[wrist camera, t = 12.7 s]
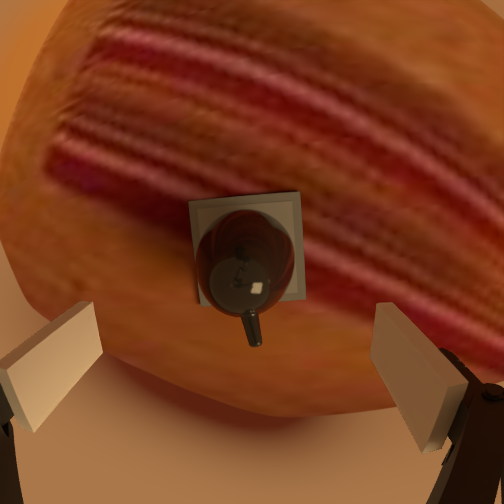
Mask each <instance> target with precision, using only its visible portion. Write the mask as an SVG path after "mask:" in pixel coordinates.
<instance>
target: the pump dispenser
mask: <svg viewBox="0 0 504 504" xmlns="http://www.w3.org/2000/svg"><path fill="white" fill-rule="evenodd" d="M195 266H196V275H197V279H198V283H199V286H200V289H201V291H202V293H203V295H204V296H205V298H206V299H207V301H208V302H209V303H210V304H211V305H212V306H213V307H214V308H216V309H217V310H218V311H220V312H222V313H224V314H226V315H229V316H233V317H241V319H242V323H243V326H244V329H245V332H246V336H247V339H248V342H249V345H250V346H251V347H258V346H260V345H261V344H262V336H261V330H260V323H259V316H258V314H261V313H263V312H265V311H267V310H269V309H270V308H271V307H273V306H274V305H275V304H276V303H277V302H278V301H279V300H280V299H281V298H282V296H283V295H284V294H285V292H286V290H287V289H288V287H289V285H290V282H291V280H292V277H293V273H294V268H295V250H294V245H293V242H292V239H291V237H290V235H289V233H288V232H287V230H286V229H285V227H284V226H283V225H282V224H281V223H280V222H279V221H278V220H277V219H275V218H274V217H272V216H271V215H269V214H267V213H265V212H262V211H259V210H254V209H238V210H234V211H230V212H228V213H225V214H223V215H221V216H220V217H218V218H217V219H216V220H214V221H213V222H212V223H211V224H210V225H209V226H208V228H207V229H206V230H205V232H204V233H203V235H202V237H201V239H200V242H199V244H198V248H197V252H196V261H195Z"/></svg>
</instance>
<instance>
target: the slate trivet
mask: <svg viewBox="0 0 504 504" xmlns="http://www.w3.org/2000/svg"><path fill="white" fill-rule="evenodd" d="M188 203H189V213H190V223H191V232H192V241H193V249H194V257H195V261H196V252H197V248H198V244H199V242H200V239H201V237H202V235H203V233H204V232H205V230H206V229H207V228H208V226H209V225H210V224H211V223H212V222H213V221H214V220H216V219H217V218H218V217H220V216H221V215H223V214H225V213H228V212H230V211H234V210H238V209H254V210H259V211H262V212H265V213H267V214H269V215H271V216H272V217H274V218H275V219H277V220H278V221H279V222H280V223H281V224H282V225H283V226H284V227H285V229H286V230H287V232H288V233H289V235H290V237H291V239H292V242H293V245H294V250H295V268H294V273H293V277H292V280H291V282H290V285H289V287H288V289H287V290H286V292H285V294H284V295H283V296H282V298H281V299H280V300H279V301H292V300H303V299H306V288H305V266H304V247H303V230H302V214H301V200H300V192H286V193H272V194H260V195H248V196H236V197H226V198H215V199H205V200H196V201H188ZM197 281H198V279H197ZM198 288H199V296H200V303H201V307H202V306H212V305H211V304H210V303H209V302H208V301H207V299H206V298H205V296H204V295H203V293H202V291H201V289H200V286H199V283H198ZM279 301H278V302H279Z"/></svg>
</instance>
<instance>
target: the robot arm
mask: <svg viewBox="0 0 504 504" xmlns="http://www.w3.org/2000/svg"><path fill="white" fill-rule="evenodd" d="M102 353H103V351H102V346H101V342H100V337H99V332H98V327H97V322H96V317H95V312H94V306H93V302H84V301H80V302H78V303H77V304H75V305H74V306H73V307H71V308H70V309H68V310H67V311H66V312H64V313H63V314H61V315H60V316H59V317H57V318H56V319H54V320H53V321H52V322H50V323H49V324H48V325H46V326H45V327H44V328H42V329H41V330H39V331H38V332H37V333H35V334H34V335H33V336H31V337H30V338H29V339H27V340H26V341H24V342H23V343H22V344H21V345H19V346H18V347H17V348H16V349H14V350H13V351H11V352H10V353H9V354H7V355H6V356H5V357H3V358H2V359H1V360H0V504H24V503H23V498H22V493H21V488H20V482H19V476H18V469H17V462H16V455H15V446H14V434H13V427H12V424H11V422H10V419H11V418H12V417H13V416H15V418H16V420H17V422H18V424H19V426H20V427H21V428H23V429H26V430H28V431H30V432H33V433H34V432H35V431H36V430H37V428H39V426H40V425H41V424H42V423H43V421H44V420H45V419H46V418H47V417H48V415H49V414H50V413H51V412H52V411H53V409H54V408H55V407H56V406H57V405H58V404H59V402H60V401H61V400H62V399H63V398H64V396H65V395H66V394H67V393H68V392H69V391H70V389H71V388H72V387H73V386H74V385H75V384H76V382H77V381H78V380H79V379H80V378H81V377H82V376H83V374H84V373H85V372H86V371H87V370H88V369H89V368H90V366H91V365H92V364H93V363H94V362H95V361H96V360H97V359H98V357H99V356H100V355H101V354H102ZM370 359H371V360H372V362H373V364H374V366H375V367H376V369H377V371H378V373H379V375H380V376H381V378H382V380H383V382H384V383H385V385H386V387H387V389H388V391H389V393H390V394H391V396H392V398H393V400H394V402H395V404H396V405H397V407H398V409H399V411H400V413H401V415H402V417H403V418H404V420H405V422H406V424H407V426H408V428H409V430H410V432H411V434H412V435H413V437H414V439H415V441H416V443H417V445H418V447H419V449H420V451H421V453H422V454H423V453H427V452H431V451H435V450H439V449H442V446H443V444H444V442H445V440H446V438H447V436H448V437H449V439H450V440H451V442H452V445H451V447H450V449H449V451H448V453H447V455H446V457H445V459H444V461H443V463H442V465H443V467H442V469H441V471H440V474H439V476H438V479H437V481H436V483H435V486H434V488H433V490H432V492H431V494H430V497H429V499H428V501H427V503H426V504H494V502H495V498H496V494H497V490H498V486H499V481H500V478H501V497H502V504H504V388H503V387H502V386H499V385H496V384H491V383H486V384H482V383H481V381H480V380H479V379H478V378H477V377H476V376H475V375H474V374H473V373H472V372H471V371H470V370H469V369H468V368H467V367H465V365H464V364H463V363H462V362H460V360H459V359H458V358H457V357H456V356H455V355H454V354H453V353H452V352H450V351H448V350H446V349H444V348H439V349H438V348H437V347H436V346H435V345H434V344H433V343H432V342H431V341H430V340H429V339H428V338H427V337H426V336H425V335H424V334H423V333H422V332H421V331H420V330H419V329H418V328H417V327H416V326H415V325H414V324H413V323H412V322H411V321H410V320H409V319H408V318H407V317H406V316H405V315H404V314H403V313H402V312H401V311H400V310H399V309H398V308H397V307H396V306H395V305H394V304H393V303H392V302H390V303H377V306H376V315H375V323H374V330H373V337H372V344H371V350H370Z"/></svg>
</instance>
